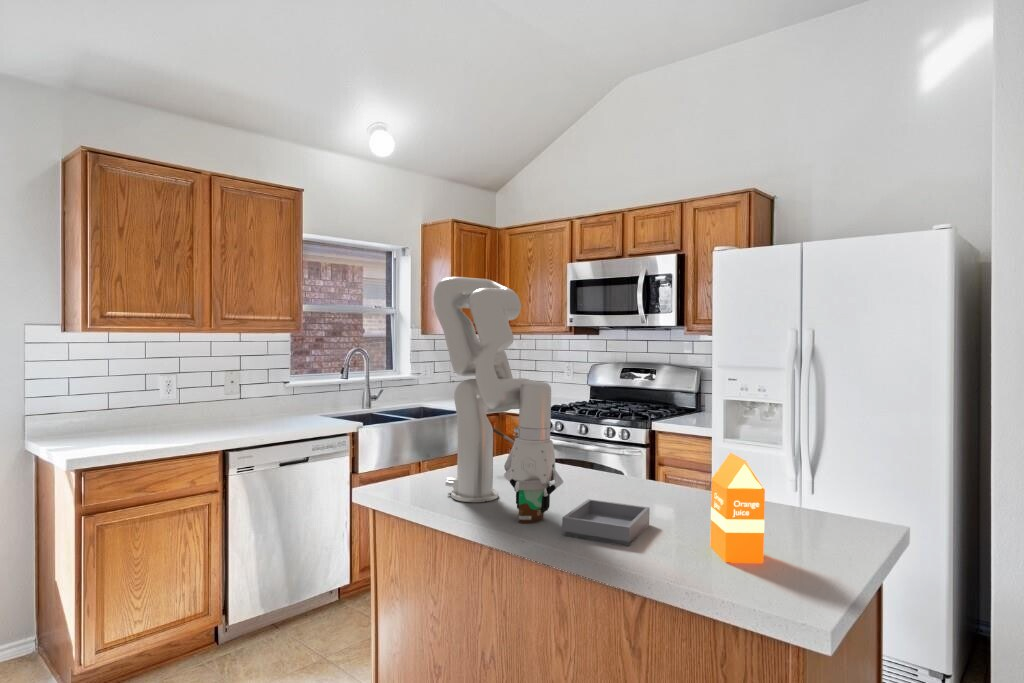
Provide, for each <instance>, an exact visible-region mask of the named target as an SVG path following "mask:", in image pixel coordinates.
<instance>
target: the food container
mask: <svg viewBox="0 0 1024 683" xmlns="http://www.w3.org/2000/svg"><path fill="white" fill-rule="evenodd" d="M547 487H549V483H547V484H545V485H542V484H541V483H540V480H535V481H521V480H519V509H518V523H519V524H531V523H532V524H533V523H538V521H539V522H541V521H543V520H544V516H545V515H544V514H545V512H544V513H541V505H542V496H544V495H543V489H545V488H547ZM542 519H543V520H542Z"/></svg>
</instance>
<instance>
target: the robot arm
mask: <svg viewBox="0 0 1024 683" xmlns="http://www.w3.org/2000/svg"><path fill="white" fill-rule="evenodd" d="M433 307H434V312H435V315H436V318H437V320H438V321H439V323H440V326H441V328H442V331H443V334H444V339H445V342H446V347H447V352H448V355H449V360H450V362H451V367H452V370H453V371H454V373H456V374H457V375H458V376H460V377H461V376H462V377H475V378H468V379H465V380H463V381H461V382H459V383H458V384H457V386H456V387H455V390H454V395H453V396H454V397H453V399H454V400H453V401H454V407H455V411H456V418H457V421H456V422H457V462H456V464H457V466H456V467H457V468H456V469H457V470H456V471H457V472H456V475H457V476H456V477H457V478H453V477H447V478H446V479H445V480H446V481H445V486H446V487H452V488H453V489H452V490H451V493H450V494H451V495H450V497H451V498H452V499H453V500H456V501H458V502H464V503H485V501H487V502H491V501H494V500H496V499H497V498H498V497H499V491H498V490H496V489H495V488H493V486H494V485H493V484H494V483H493V482H494V481H493V479H494V471H493V470H494V432H493V429H492V427H493V426H492V424H491V422H490V420H489V418H488V416H487V415H489V414H494V413H495V414H496V413H505V412H508V411H511V410H519V411H518V426H516V427H514V428H513V432H514V434H515V433H518V437H519V438H516V439H515V438H514V441H515V442H514V446H513V445H512V447H513V452H512V459H511V467H510V468H509V469H508V471H507V472H506V471H505V473H504V477H505V478H506V479H507V481H508V482H509V484H510V485H511V486H512V488H513V490H514V492H515V504H516V509H518V510H519V480H521V481H535V480H540V483H541V484H542V485H545V484H547V483H549V487H547V488H545V489H543V495H544V496H542V505H541V513H544V514H545V512H547V511H548V510H549V509H550V502H551V500H550V499H551V497H550V496H551V494H552V493H553V492H554V491H555V490H557V489H558V488H559V487H560V486H562V485H563V484H564V480H563V479H562V477H561V476H560V474H559V473H558V472H557V470H556V456H555V447H554V442H553V440H552V439H551V422H552V421H551V420H552V416H551V415H552V413H551V412H552V410H551V409H552V387H551V385H550V384H549V383H547V382H543V381H534V380H531V379H530V378H523V377H521V378H514V377H513V374H512V370H511V366H510V363H509V359H508V356H507V354H506V351H505V350H507V349H508V348H509V347H510V346H511V345H513V343H514V340H515V339H514V337H515V336H514V334H513V331H512V328H511V326H510V323H509V321H513V320H516V319H517V318H518V317H519V315H520V313H521V309H522V304H521V300H520V298H519V295H518V294H517V292H515V291H514V290H513V289H511V288H509V287H508V286H505V285H502V284H500V283H498V282H497V281H494V280H491V279H489V278H488V279H487V278H476V277H465V276H451V277H445V278H442V279H441V280H440V281H438V282H437V284H436V286H435V287H434V291H433ZM462 309H469V311H470V314H471V318H472V320H473V322H472V320H471V319H470V318H469V317H468V315H467V314H466V313H465V312H464V311H463V310H462ZM474 325H475V326H474ZM476 333H477V334H476ZM552 481H554V483H553V484H551V483H550V482H552Z"/></svg>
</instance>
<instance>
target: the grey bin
mask: <svg viewBox="0 0 1024 683" xmlns="http://www.w3.org/2000/svg"><path fill="white" fill-rule="evenodd" d="M650 511H651V510H650V507H648V506H643V505H642V506H641V505H633V504H627V503H618V502H611V501H604V500H600V499H598V500H597V499H591V498H587V499H586V500H585V501H584V502H582V503H581V504H579V505H578V506H576V507H575V508H574V509H572V510H570V511H569V512H568V513H566V514H565V515H563V516H562V521H561V522H562V523H561V524H562V525H561V536H563V537H570V538H576V539H583V540H588V541H593V542H600V543H605V544H611V545H618V546H625V547H631V545H632V544H633V543H634V542H635V541H636V539H638V538H639V537H640V536H641V534H642V533H643V532H644V531H645V530H646V529H647V528H648V527H649V526H648V525H650V516H651V515H650V514H651V513H650ZM647 526H648V527H647ZM646 527H647V528H646Z"/></svg>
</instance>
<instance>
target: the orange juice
mask: <svg viewBox="0 0 1024 683" xmlns="http://www.w3.org/2000/svg"><path fill="white" fill-rule="evenodd" d="M765 496H766V489H765V488H764V487H763V485H762V484H761V482H760V481H759V479H758V477H757V476H756V475H755V473H754V471H753V470H752V469H751V467H750V465H749V464H748V462H747V460H745V459H744V458H742V457H739V456H738V455H736V454H734V453H733V452H730V453H729V454H727V457H725V459H724V461H723V462H722V463H721V465H720V467H719V468H718V469H717V471H716V472H715V473H714V475H713V476H712V477H711V498H710V499H711V505H710V506H711V507H710V545H709V546H710V547H711V548H712V549H713V550H714V551H715V552H716V553H717V554H718V555H719V556H720V557H721V558H722V559H723V560H722V559H721V558H720V557H719V556H718V555H717V554H716V553H715V552H714V551H713V550H712V549H711V548H710V549H711V550H712V551H713V552H714V553H715V554H716V555H717V556H718V557H719V558H720V559H721V560H722V561H723V562H724V561H725V562H731V563H730V564H764V547H765V546H764V545H765V544H764V543H765V541H764V540H765V506H766V505H765V503H766V502H765V500H766V499H765ZM725 562H724V563H725Z"/></svg>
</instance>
